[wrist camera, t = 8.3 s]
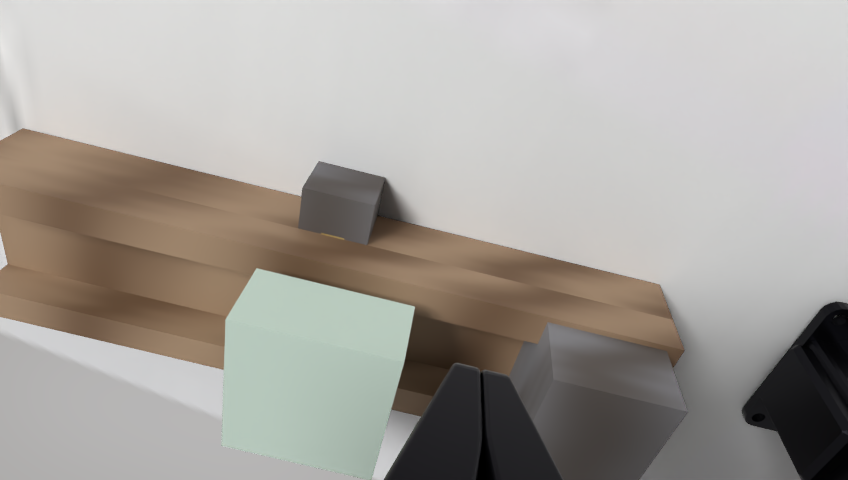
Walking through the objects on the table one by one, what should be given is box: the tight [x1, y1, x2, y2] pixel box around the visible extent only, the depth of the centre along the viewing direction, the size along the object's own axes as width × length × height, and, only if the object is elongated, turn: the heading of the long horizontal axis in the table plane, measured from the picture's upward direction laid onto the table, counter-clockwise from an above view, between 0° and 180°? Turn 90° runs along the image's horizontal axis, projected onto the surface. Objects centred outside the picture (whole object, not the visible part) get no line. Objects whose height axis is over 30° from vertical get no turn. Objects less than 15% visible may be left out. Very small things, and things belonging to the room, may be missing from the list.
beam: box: [0, 129, 688, 480], centre depth 20 cm, size 24×9×6 cm, turn 78°
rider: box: [221, 268, 415, 480], centre depth 19 cm, size 5×6×4 cm
